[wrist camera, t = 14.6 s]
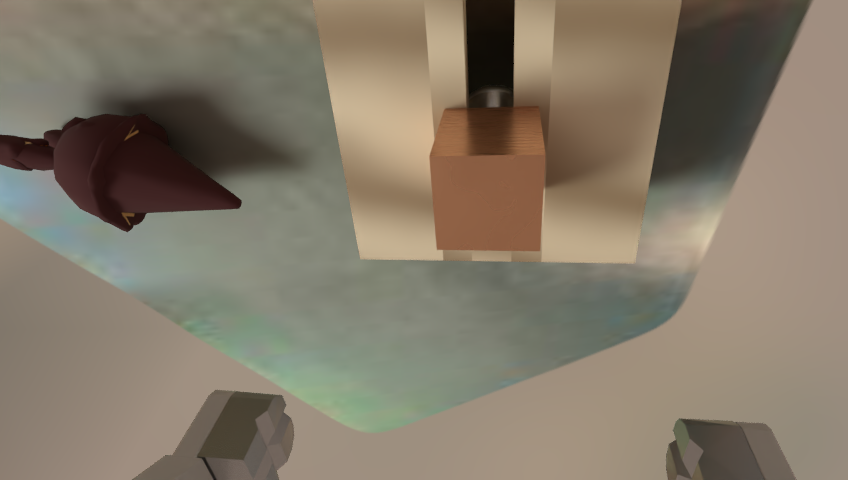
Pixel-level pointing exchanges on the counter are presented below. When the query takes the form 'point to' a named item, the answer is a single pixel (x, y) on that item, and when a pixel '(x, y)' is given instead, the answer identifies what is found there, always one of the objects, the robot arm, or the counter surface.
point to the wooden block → (488, 174)
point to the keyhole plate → (533, 86)
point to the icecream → (118, 169)
